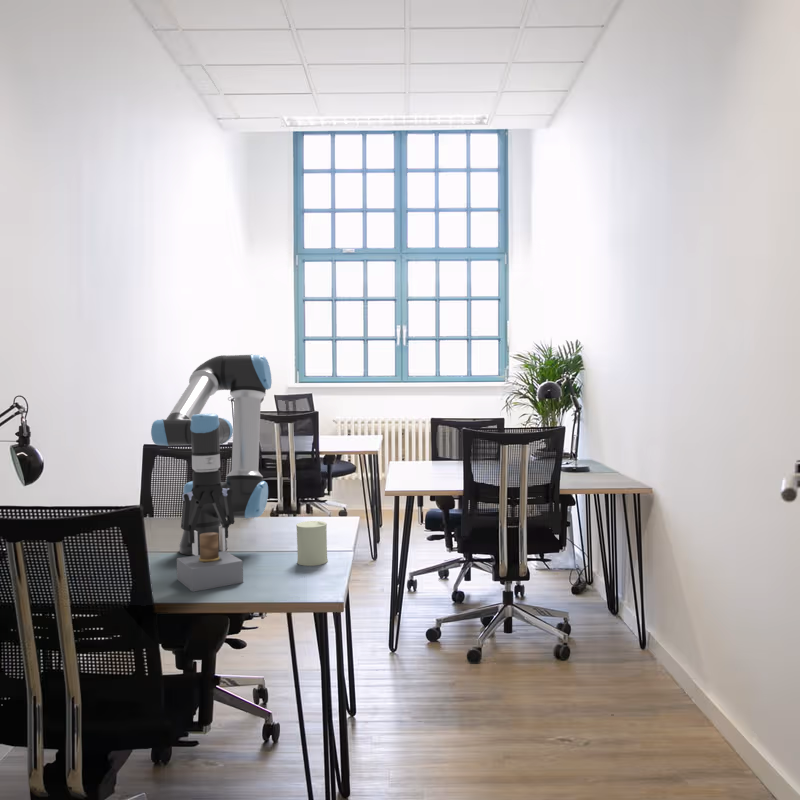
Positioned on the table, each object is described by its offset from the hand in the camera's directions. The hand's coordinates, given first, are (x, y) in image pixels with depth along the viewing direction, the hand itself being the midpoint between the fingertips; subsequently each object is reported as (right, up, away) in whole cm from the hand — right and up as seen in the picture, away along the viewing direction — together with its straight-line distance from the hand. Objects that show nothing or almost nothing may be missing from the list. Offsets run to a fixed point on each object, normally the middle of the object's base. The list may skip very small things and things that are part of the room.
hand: (209, 552), depth 203 cm
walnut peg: (0, -8, 0) cm, 8 cm away
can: (+26, -7, +19) cm, 33 cm away
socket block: (0, -8, 0) cm, 8 cm away
